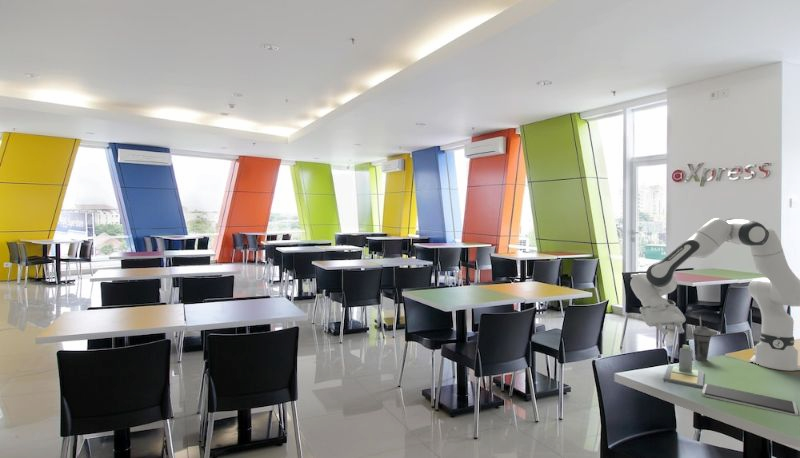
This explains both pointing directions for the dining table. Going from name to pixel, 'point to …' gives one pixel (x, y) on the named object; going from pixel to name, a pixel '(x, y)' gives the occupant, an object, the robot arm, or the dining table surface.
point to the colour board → (684, 377)
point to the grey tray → (750, 399)
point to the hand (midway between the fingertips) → (674, 333)
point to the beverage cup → (701, 341)
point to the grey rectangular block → (685, 359)
